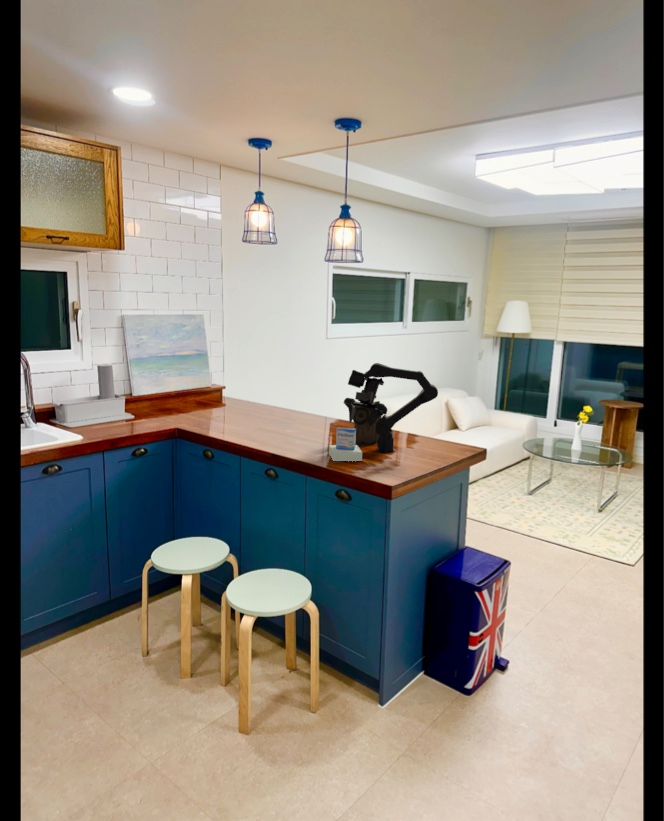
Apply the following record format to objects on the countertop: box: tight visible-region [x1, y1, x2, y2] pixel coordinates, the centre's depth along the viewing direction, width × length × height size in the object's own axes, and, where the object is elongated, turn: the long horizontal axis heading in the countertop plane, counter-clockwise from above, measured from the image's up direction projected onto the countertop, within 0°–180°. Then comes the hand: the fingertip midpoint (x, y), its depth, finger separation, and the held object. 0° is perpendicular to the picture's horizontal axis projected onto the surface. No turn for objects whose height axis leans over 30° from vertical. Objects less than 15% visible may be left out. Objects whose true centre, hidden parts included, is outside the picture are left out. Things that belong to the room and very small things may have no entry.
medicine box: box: [335, 426, 356, 450], centre depth 236 cm, size 8×4×9 cm, turn 84°
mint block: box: [328, 444, 363, 463], centre depth 237 cm, size 12×12×4 cm
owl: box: [352, 400, 382, 446], centre depth 262 cm, size 13×13×20 cm
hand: (359, 424), depth 241 cm, fingers open, 9 cm apart
